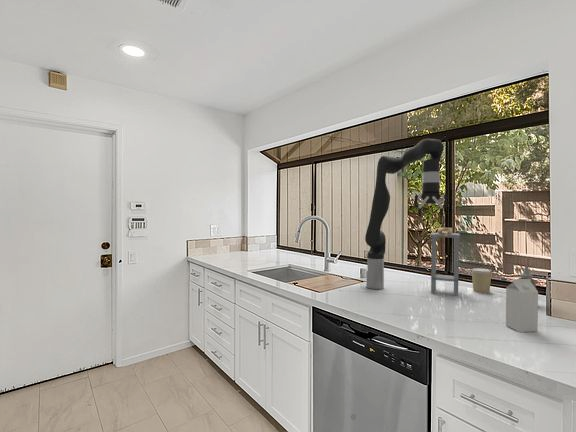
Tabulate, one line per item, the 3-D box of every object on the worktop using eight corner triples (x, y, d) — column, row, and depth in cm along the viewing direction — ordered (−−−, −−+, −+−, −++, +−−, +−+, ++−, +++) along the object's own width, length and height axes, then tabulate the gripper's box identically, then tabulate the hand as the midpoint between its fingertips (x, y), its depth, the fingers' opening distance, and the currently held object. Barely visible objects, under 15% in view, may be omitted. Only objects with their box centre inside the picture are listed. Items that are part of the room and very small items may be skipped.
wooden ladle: (437, 235, 165) (437, 229, 164) (438, 232, 182) (438, 227, 181) (452, 236, 161) (452, 230, 161) (452, 233, 178) (452, 227, 178)
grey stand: (430, 293, 175) (430, 234, 174) (431, 289, 184) (431, 232, 183) (459, 296, 169) (459, 234, 168) (458, 291, 178) (459, 233, 177)
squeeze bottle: (532, 302, 157) (533, 265, 157) (539, 307, 149) (540, 268, 149) (513, 301, 160) (513, 264, 159) (518, 306, 152) (519, 267, 152)
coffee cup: (485, 289, 182) (486, 268, 182) (494, 293, 173) (495, 271, 173) (468, 289, 183) (468, 268, 183) (476, 293, 174) (476, 271, 174)
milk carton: (505, 325, 127) (506, 277, 127) (522, 324, 128) (523, 277, 127) (519, 332, 120) (520, 281, 120) (537, 331, 121) (538, 281, 120)
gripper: (413, 182, 151) (413, 216, 152) (447, 180, 145) (447, 217, 146) (415, 183, 158) (415, 216, 159) (447, 182, 152) (447, 216, 152)
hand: (430, 216), depth 152 cm, fingers open, 8 cm apart
